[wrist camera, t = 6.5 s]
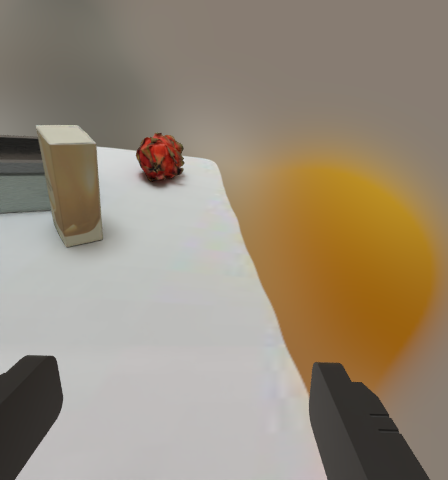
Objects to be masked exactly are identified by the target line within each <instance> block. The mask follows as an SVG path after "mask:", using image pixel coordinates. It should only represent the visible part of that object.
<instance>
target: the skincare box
mask: <svg viewBox="0 0 448 480" xmlns="http://www.w3.org/2000/svg"><path fill="white" fill-rule="evenodd" d="M36 130H37V134H38V140H39V145H40V150H41V156H42V161H43V166H44V172H45V177H46V183H47V188H48V194H49V199H50V205H51V211H52V216H53V221H54V224H55V227H56V229H57V231H58V233H59V235H60V237H61V239H62V241H63V242H64V244H65V246H66V247H70V246H75V245H79V244H84V243H89V242H93V241H98V240H102V239H103V234H102V221H101V206H100V192H99V178H98V164H97V150H96V143H95V142H94V141H93V140H92V139H91V138H90V137H89V136H88V134H87V133H86V132H84V131H83V130H82V129H81V128H80V127H79V126H76V125H75V126H74V125H73V126H72V125H37V126H36Z"/></svg>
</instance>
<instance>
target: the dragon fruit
mask: <svg viewBox="0 0 448 480" xmlns="http://www.w3.org/2000/svg"><path fill="white" fill-rule="evenodd" d="M182 151H183V146H182V145H181V143H178V142H177V141H175V139H174V137H173V136H171V135H165V136H162V134H161V133H155V135H154V137H153V138H152V137H150V138H148V137H147V138H145V139H144V140H143V141H142V142H141V145H140V147H139V148H138V150H137V153H136V157H137V159H138V161H139V164H140V166H141V168H142V169H143V170H144V172H145V173H146V175H147V178H148V179H149V180H150V181H153V180H164V179H165V178H166V177H167V178H169V179H171V178H173V177H174V176H176V175H179V174H181V173H182V171H183V170H184V169H183V168H181V166H183V165H184V161H182V160H183V159H184V158H183V157H182V155H181V153H182ZM165 176H166V177H165Z"/></svg>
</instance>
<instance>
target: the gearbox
mask: <svg viewBox="0 0 448 480" xmlns="http://www.w3.org/2000/svg"><path fill="white" fill-rule="evenodd" d="M47 210H51V205H50V199H49V194H48V188H47V183H46V177H45V172H44V166H43V161H42V156H41V150H40V145H39V140H38V137H33V136H9V135H0V213H12V212H30V211H47Z"/></svg>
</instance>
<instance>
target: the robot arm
mask: <svg viewBox="0 0 448 480" xmlns="http://www.w3.org/2000/svg"><path fill="white" fill-rule="evenodd" d="M62 403H63V393H62V388H61V382H60V376H59V371H58V365H57V360H56V358H55V357H54V356H38V355H27V356H25V357H23V358H22V359H20V360H19V361H18V362H17V363H16V364H15V365H14V366H13V367H12V368H11V369H9V370H8V371H7V372H6V373H3V374H1V375H0V480H15V479H16V477H17V476H18V474H19V473H20V471H21V470H22V468H23V467H24V466H25V464H26V463H27V461H28V460H29V458H30V457H31V455H32V454H33V453H34V451H35V450H36V448H37V447H38V445H39V444H40V442H41V441H42V440H43V438H44V437H45V435H46V434H47V432H48V431H49V429H50V428H51V427H52V425H53V424H54V422H55V421H56V419H57V417H58V416H59V413H60V411H61V408H62ZM309 415H310V422H311V426H312V430H313V433H314V436H315V440H316V443H317V446H318V449H319V453H320V456H321V459H322V463H323V466H324V469H325V472H326V476H327V479H328V480H430V479H429V477H428V476H427V474H426V473H425V471H424V469H423V468H422V466H421V465H420V463H419V462H418V460H417V458H416V457H415V455H414V454H413V452H412V450H411V449H410V447H409V446H408V444H407V442H406V441H405V439H404V438H403V436H402V435H401V434H399V431H398V428H397V427H396V425H395V424H394V422H393V420H392V419H391V418H389V414H388V412H387V411H386V409H385V408H384V406H383V404H382V403H381V402H380V400H379V398H378V397H377V396H376V395H375V394H374V393H373V392H372V391H371V390H369V389H368V388H367V387H366V386H365V385H364V384H363V383H362V382H351V380H350V378H349V376H348V374H347V373H346V371H345V369H344V367H343V366H342V364H340V363H320V362H319V363H318V362H315V363H314V364H313V369H312V379H311V389H310V398H309Z"/></svg>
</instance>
